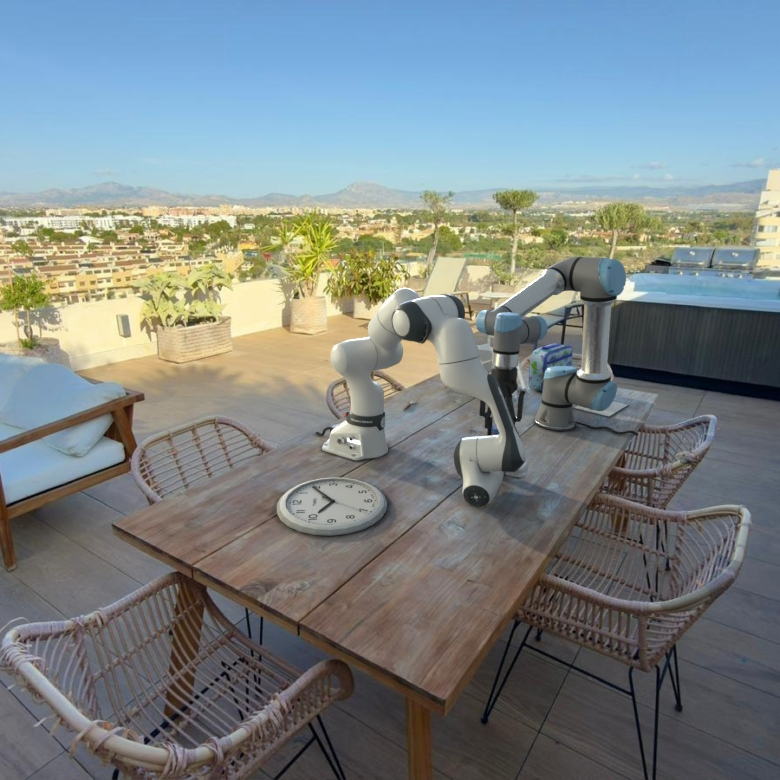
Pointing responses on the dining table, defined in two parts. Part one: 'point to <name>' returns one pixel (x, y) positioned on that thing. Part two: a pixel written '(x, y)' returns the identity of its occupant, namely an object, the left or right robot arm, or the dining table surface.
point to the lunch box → (547, 362)
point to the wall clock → (331, 506)
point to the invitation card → (609, 411)
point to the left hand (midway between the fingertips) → (497, 453)
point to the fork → (411, 403)
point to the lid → (494, 429)
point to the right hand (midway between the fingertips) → (498, 439)
